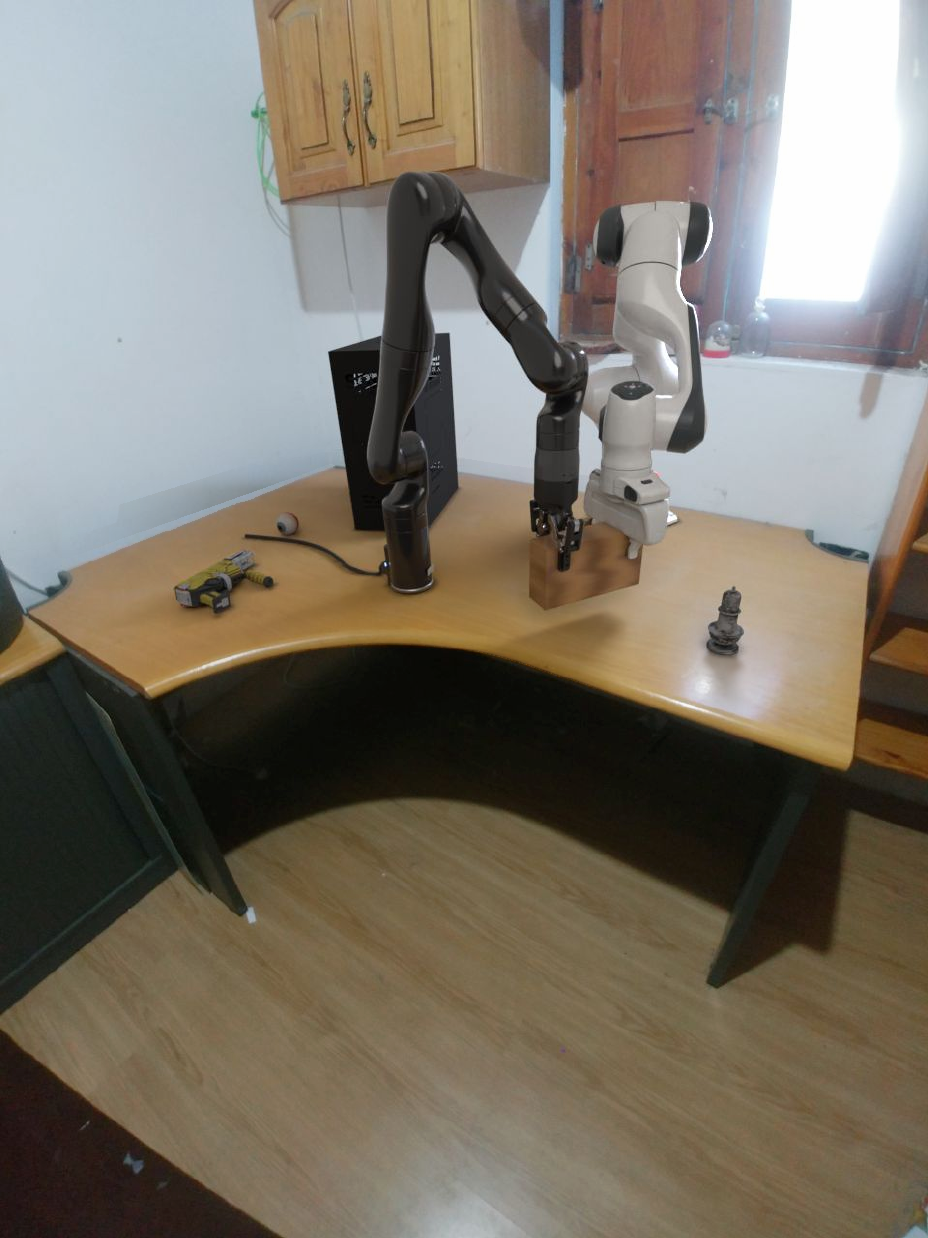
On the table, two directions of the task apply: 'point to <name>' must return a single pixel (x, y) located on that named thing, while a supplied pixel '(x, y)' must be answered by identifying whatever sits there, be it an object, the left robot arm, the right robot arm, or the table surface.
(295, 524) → the eyeball
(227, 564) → the toy gun
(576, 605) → the table surface
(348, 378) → the cardboard box
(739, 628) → the dark grey chess piece
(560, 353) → the left robot arm
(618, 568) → the box
